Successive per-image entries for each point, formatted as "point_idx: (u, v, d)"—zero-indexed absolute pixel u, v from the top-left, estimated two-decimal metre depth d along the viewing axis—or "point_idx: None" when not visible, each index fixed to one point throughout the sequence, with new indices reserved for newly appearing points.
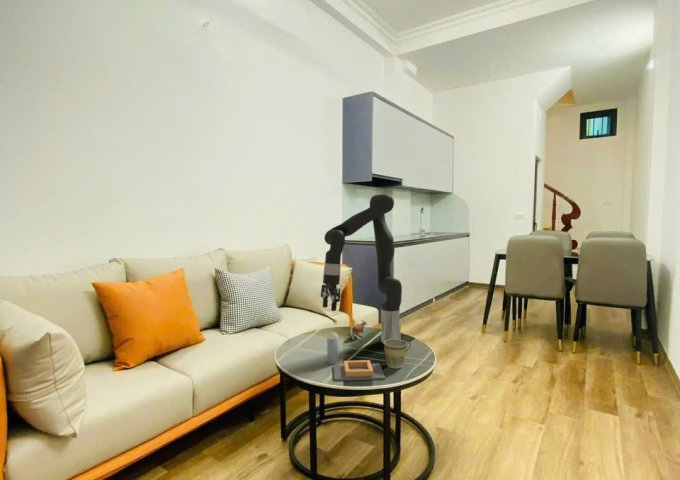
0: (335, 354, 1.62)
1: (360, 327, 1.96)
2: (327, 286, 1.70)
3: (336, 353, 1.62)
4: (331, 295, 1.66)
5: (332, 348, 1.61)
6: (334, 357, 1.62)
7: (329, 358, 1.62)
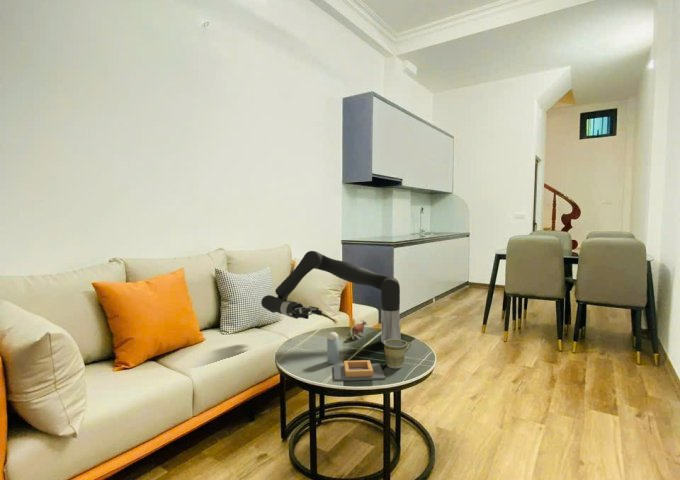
0: (335, 354, 1.62)
1: (360, 327, 1.96)
2: None
3: (336, 353, 1.62)
4: None
5: (332, 348, 1.61)
6: (334, 357, 1.62)
7: (329, 358, 1.62)
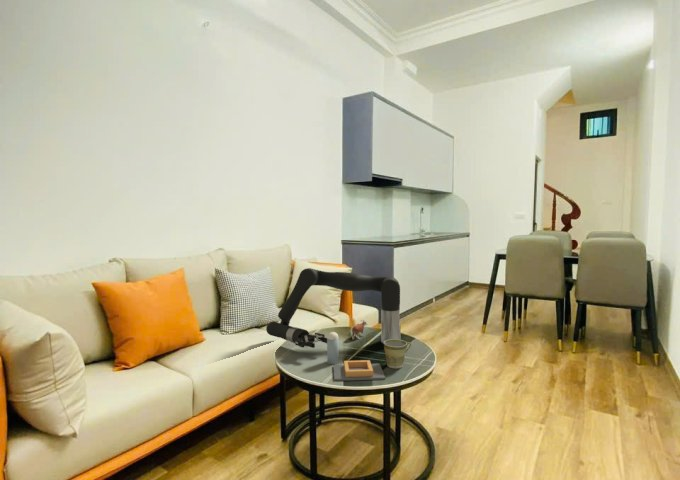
0: (335, 354, 1.62)
1: (360, 327, 1.96)
2: None
3: (336, 353, 1.62)
4: None
5: (332, 348, 1.61)
6: (334, 357, 1.62)
7: (329, 358, 1.62)
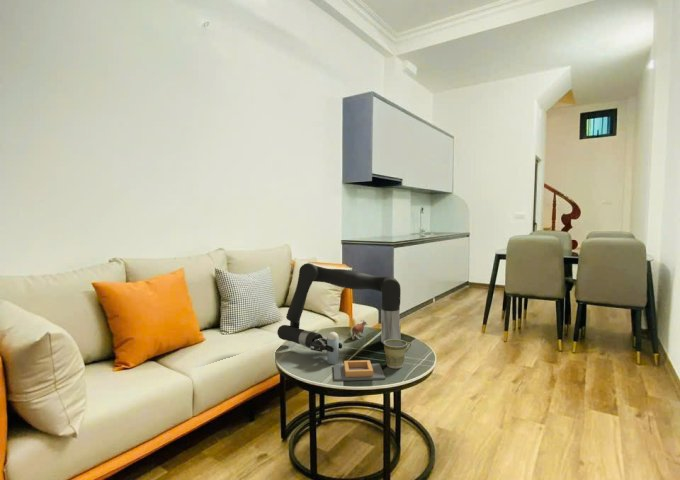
0: (335, 354, 1.62)
1: (360, 327, 1.96)
2: None
3: (336, 353, 1.62)
4: None
5: None
6: (334, 357, 1.62)
7: (329, 358, 1.62)
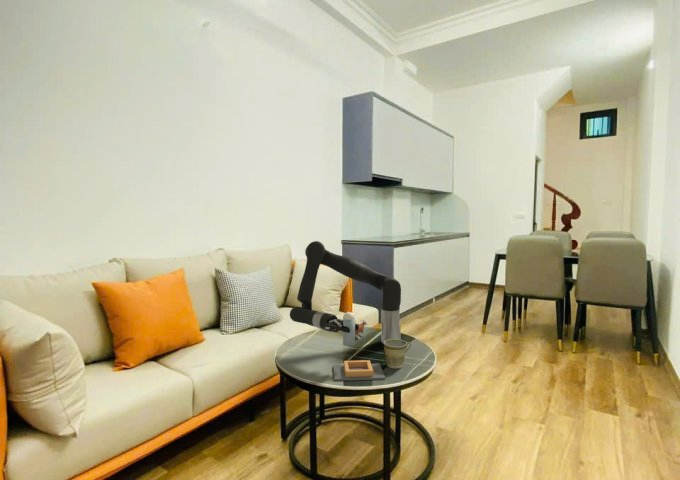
0: (351, 335, 1.53)
1: (360, 327, 1.96)
2: None
3: (352, 334, 1.54)
4: None
5: None
6: (350, 338, 1.53)
7: (345, 339, 1.54)
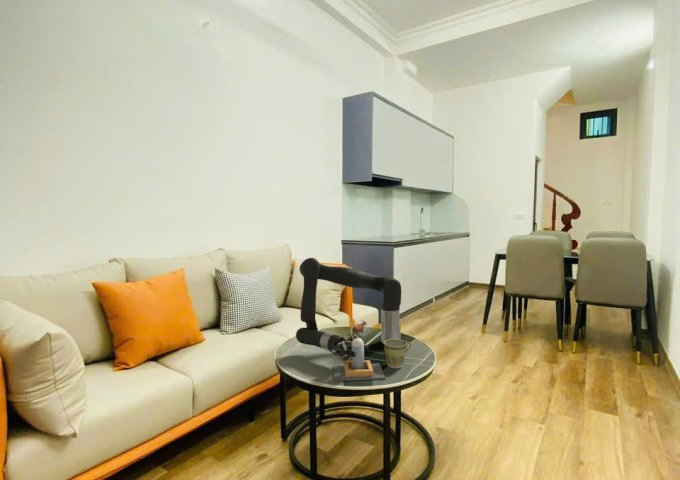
0: (360, 362, 1.50)
1: (360, 327, 1.96)
2: None
3: (362, 361, 1.51)
4: None
5: (357, 356, 1.50)
6: (359, 365, 1.50)
7: (354, 366, 1.51)
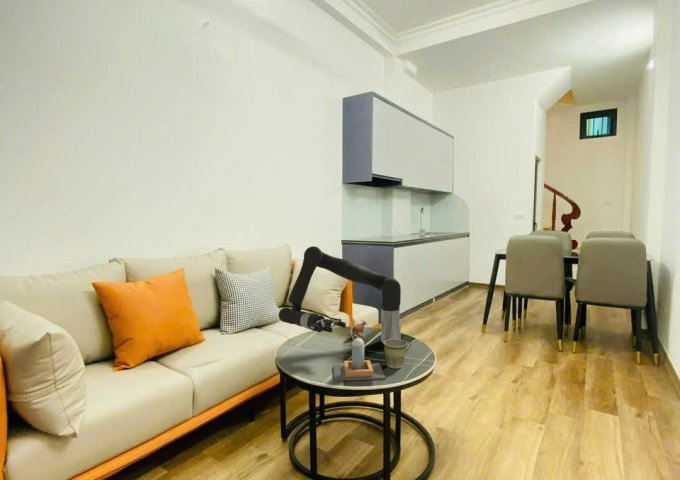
0: (361, 362, 1.50)
1: (360, 327, 1.96)
2: None
3: (362, 361, 1.51)
4: None
5: (357, 356, 1.50)
6: (360, 365, 1.50)
7: (354, 366, 1.51)
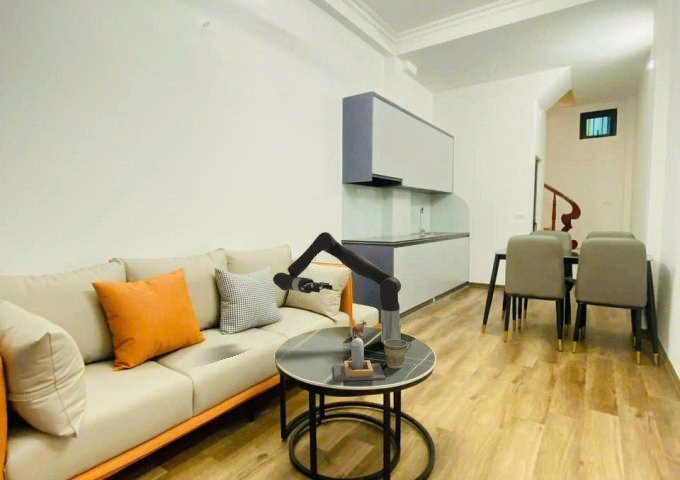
0: (360, 362, 1.50)
1: (360, 327, 1.96)
2: None
3: (362, 361, 1.51)
4: (310, 291, 1.79)
5: (357, 355, 1.50)
6: (360, 365, 1.50)
7: (354, 366, 1.51)
